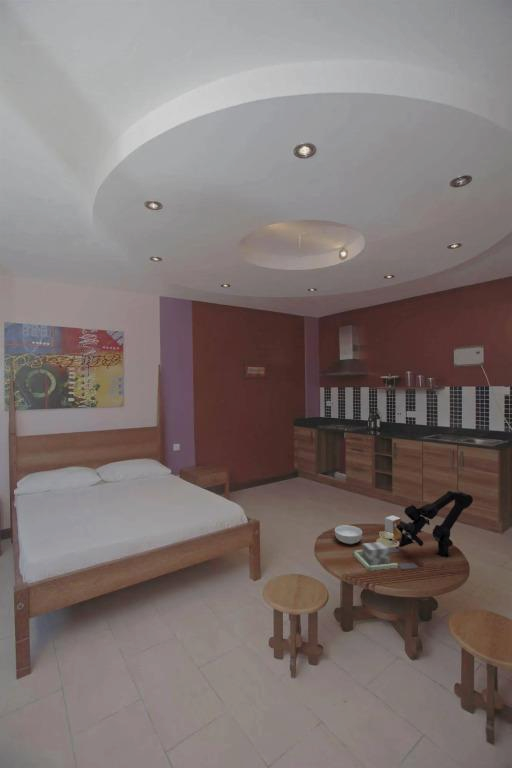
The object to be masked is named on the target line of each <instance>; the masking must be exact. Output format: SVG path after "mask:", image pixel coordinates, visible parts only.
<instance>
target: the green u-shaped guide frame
mask: <svg viewBox="0 0 512 768" xmlns="http://www.w3.org/2000/svg"><path fill="white" fill-rule="evenodd" d="M389 548H390V554H395V553H400V550H399V549H397V548H395V547H389ZM352 555H353V556H354V557H355V558H356V560H358V562H359V563H360V564H361V565H363V567H364V568H365V569H366V570H367V571H368V572H373V571H374V570H376V571H382V570H381V569H385V570H391V569H390V568H394V569H400V568H401V570H402V569H405V570H413V569H419V568H420V567H419V566H418V565H417V564H416V563H414V562H405V563H397V562H393V563H392V562H391V563H388V564H379V565H369V564H368V563H367V562H366V561H365V560H364V559H363V554H362V549H357V550H352ZM398 566H399V567H400V568H399V567H398ZM374 572H375V571H374Z"/></svg>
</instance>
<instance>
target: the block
mask: <svg viewBox="0 0 512 768" xmlns="http://www.w3.org/2000/svg"><path fill="white" fill-rule="evenodd" d="M361 546H362V548H361V550H362V554H363V555H362V558H363V559H364V560H365V561H366V562H367V563H368V564H369V565H370V566H373V565H378V564H379V565H382V564H387V563H388V564H391V563H390V561H391V560H390V557H391V555H390V554H391V553H390V548H391V547H389V546H387V545H386V544H385V543H384V542H383V541H380V542H379V541H375V542H367V543H366V542H365V543H362V545H361Z"/></svg>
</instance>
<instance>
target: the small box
mask: <svg viewBox="0 0 512 768" xmlns="http://www.w3.org/2000/svg"><path fill="white" fill-rule="evenodd" d="M400 521H402V520H401V517H398V516H396V515H393V514H392V515H390V516H389V515H388V516H387V517H385V518H384V533H385V532H390V533H393V534H394V537H395V539H396V540H395V541H397V540H401V538H402V534H401V532H400V531H399V530H398V529H397V528H396V526H397V525H398V524H400Z"/></svg>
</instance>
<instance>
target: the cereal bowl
mask: <svg viewBox="0 0 512 768" xmlns="http://www.w3.org/2000/svg"><path fill="white" fill-rule="evenodd" d="M334 535H335V537H336V539H337V540H338V541H340V542H341V543H343V544H346V545H353V544H356V543H359V542H360V541H361V540H362V538H363V531H362V528H360V527H358V526H353V525H347V524H344V525H338V526H337V527H335V529H334Z"/></svg>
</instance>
